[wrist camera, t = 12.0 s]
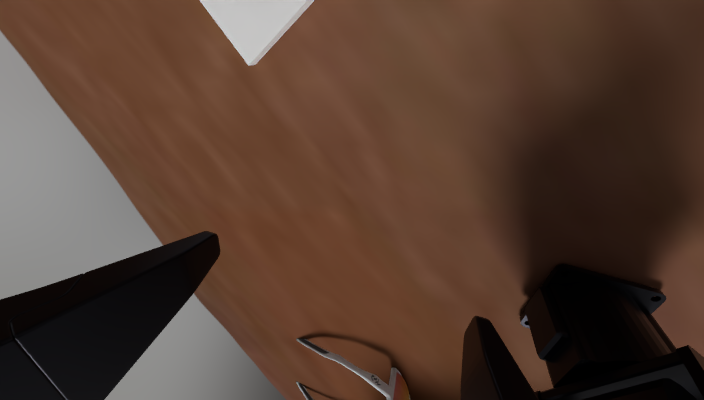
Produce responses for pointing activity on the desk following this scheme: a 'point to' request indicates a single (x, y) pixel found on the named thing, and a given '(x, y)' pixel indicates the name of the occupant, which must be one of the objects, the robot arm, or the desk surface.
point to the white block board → (255, 22)
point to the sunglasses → (363, 376)
